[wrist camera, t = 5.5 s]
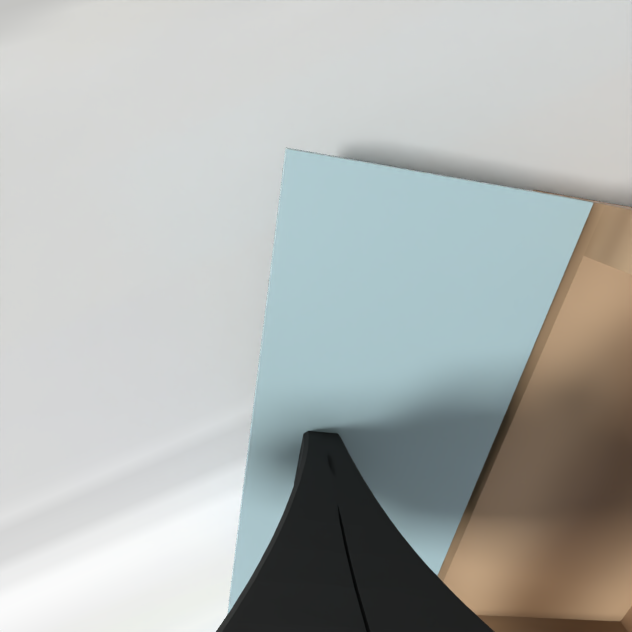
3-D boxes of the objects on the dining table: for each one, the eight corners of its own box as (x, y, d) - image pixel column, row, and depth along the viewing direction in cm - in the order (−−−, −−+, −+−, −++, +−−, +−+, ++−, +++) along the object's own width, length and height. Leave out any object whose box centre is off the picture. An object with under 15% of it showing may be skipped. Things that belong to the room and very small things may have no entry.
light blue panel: (593, 203, 9) (286, 149, 8) (413, 632, 15) (225, 631, 14) (560, 195, 10) (285, 147, 9) (404, 599, 16) (229, 596, 15)
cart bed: (792, 235, 13) (1158, 305, 8) (584, 569, 19) (702, 741, 14) (533, 189, 12) (738, 232, 6) (401, 557, 18) (449, 739, 13)
